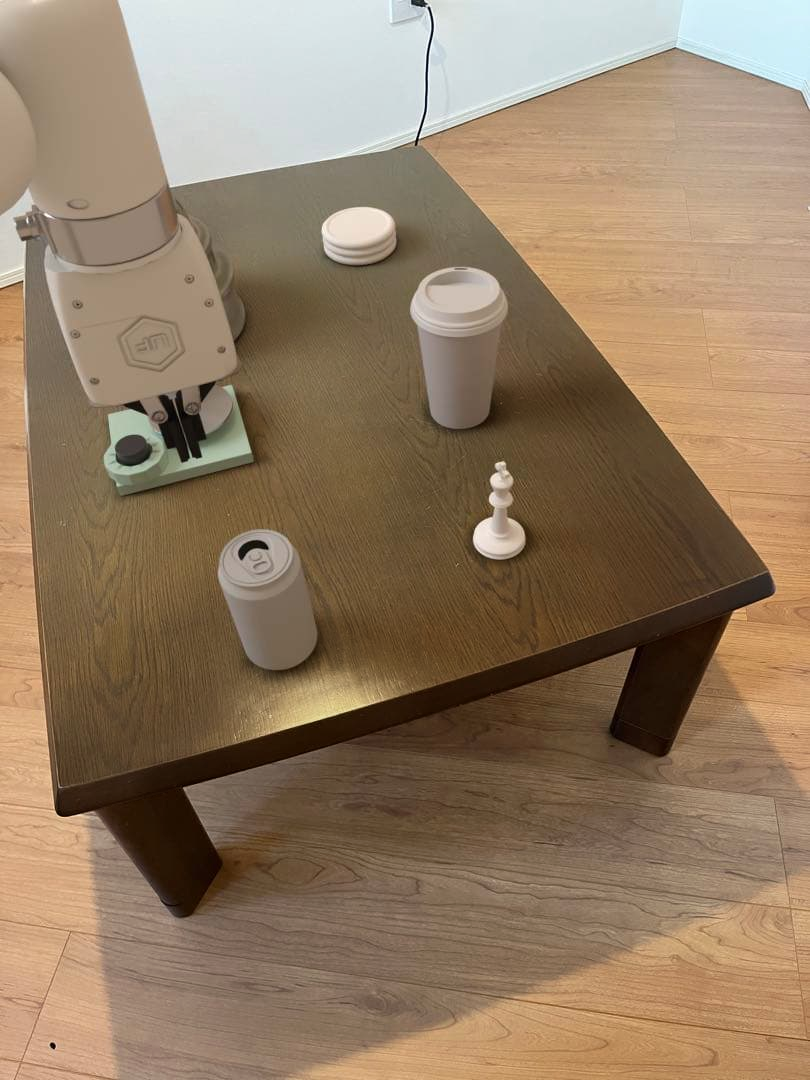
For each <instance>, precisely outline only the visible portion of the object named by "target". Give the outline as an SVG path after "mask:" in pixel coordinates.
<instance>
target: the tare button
mask: <svg viewBox="0 0 810 1080" xmlns="http://www.w3.org/2000/svg"><path fill="white" fill-rule="evenodd" d="M115 451H116V454H117V456H118V458H119V460H120V462H121V463H122V464H123V465H125V466H135V465H139V464H142V463H143V462H145V461H146V460H147V459H148V458H149V456H150V449H149V446H148V444H147V441H146V439H145V438H144V437H143V436H141V435H136V434H133V435H128V436H125V437H123V438H121V439H120V440H119V441H118V442H117V443H116V445H115Z"/></svg>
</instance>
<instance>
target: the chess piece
mask: <svg viewBox="0 0 810 1080" xmlns="http://www.w3.org/2000/svg"><path fill="white" fill-rule="evenodd" d="M494 469H496V470H497V472H495V473H493V474H492V475H491V477H490V479H489V483H490V486H491V488H492V490H493V491H492V492H491V493H490V494H489V496H488V502H489V504H490V505H491V506H492V507H494V509H493V514H492V516H491V517H487V518H485V519H483V520H482V521H480V522H479V523H478V524H477V525H476V527H475V528H474V532H473V536H472V543H473V546H474V548H475V549H476V551H478V553H480V554H481V555H482V556H484V557H486V558H489V559H491V560H502V561H503V560H508V559H512V558H514V557H516V556H518V555H519V554H520V553H521V552H522V551H523V549H524V547H525V546H526V534H525V533H526V532H525V530H524V527H522V525H521V524H520V523H519V522H518V521H516V520H515V519H513V518H510V517H508V511H507V508H508V507H510V506H511V505H512V504H513V502H514V497H513V495H512V493H511V492H510V490H511V488H512V487H513V484H514V477H513V476H512V475H511V473H510V472H509V471H508V470H507V463H506V462H505V461H504V460H502V461H498V462H496V463H494Z"/></svg>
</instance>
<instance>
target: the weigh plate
mask: <svg viewBox="0 0 810 1080" xmlns="http://www.w3.org/2000/svg"><path fill="white" fill-rule="evenodd" d="M222 387H223V386H220V385H218V384H215V385H214V386H213V388H212V389H211V391H210V392H209V393H208V395H207V396H206V397H205V399H204V400H203V402H202V403H201V411H200V412H199V414H200V417H201V420H202V424H203V427H204V430H205V434H208V433H210V432H212V431H214V430H216V429H217V428H219V427H220V426H221V425H223V424H224V423H225V422H226V420H227V419H228V418H229V416H230V414H231V412H232V408H233V403H232V399H231V396H230V394H229V393H228V392H227V391H226V390H225V389H223V388H222ZM176 393H177V391H175V392H171V393H167V394H164V395H166V396H168V397H169V399H172V400H173V403H174V406H175V409H176V412H177V415H178V411H177V407H176V403H175V399H174V398H176ZM178 418H179V415H178ZM148 421H149V424H150V426H151V428H152V429H153V430H154V431H155V432H156V433H158V434H159V435H161V436H162V434H161V431H160V428H159V426H158V424H157V423H154V422H153V421H152V420H151V419H150V417H149V416H148ZM179 421H180V419H179ZM180 424H181V422H180ZM181 427H182V425H181ZM182 430H183V428H182ZM183 432H184V431H183ZM184 436H185V434H184ZM185 439H186V437H185Z"/></svg>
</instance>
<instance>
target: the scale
mask: <svg viewBox="0 0 810 1080" xmlns="http://www.w3.org/2000/svg"><path fill="white" fill-rule="evenodd" d="M221 387H222V388H223V389H225V390H226V391H227V392H228V393H229V394H230V396H231V399H232V403H233V408H232V412H231V414H230V416H229V418H228V419H227V420H226V422H225V423H224V424H223V425H221V426H220V427H219V428H217V429H216V430H214V431H212V432H210V433H208V434H206V437H207V439H206V440H202V441H198V443H199V446H200V450H201V454H202V458H198V459H196V458H192V455H191V452H190V449H189V446H188V443H187V440H186V443H187V447H188V451H189V455H190V459H188V461H187V462H183V463H181V460H180V457H179V454H178V451H177V449H176V447H175V448H172V449H168V450H167V447H166V445H165V442H164V439H163V437H162V436H161V435H159V434H158V433H156V432H155V431H154V430H153V429H152V428H151V426H150V424H149V421H148V416H147V415H144V414H142V413H139V412H137V411H134V410H132V409H129V408H127V409H125V410H120V411H117V412H112V413H108V414H107V420H108V426H109V434H110V435H109V436H110V443H111V444H110V445H109V447H108V449H106V451H105V453H104V455H103V463H104V468H105V470H106V473H107V475H108V476H109V478H111V480H113V481H114V482H115V485H116V486H115V487H116V489H117V491H118V493H119V495H120V496H121V497H122V496H123V497H124V496H126V495H130V494H134V493H138V492H142V491H146V490H149V489H154V488H157V487H162V486H166V485H170V484H173V483H177V482H181V481H186V480H189V479H193V478H197V477H200V476H205V475H209V474H213V473H215V472H220V471H224V470H228V469H232V468H236V467H239V466H244V465H248V464H253V463H254V462H255V458H254V455H253V452H252V448H251V445H250V441H249V439H248V435H247V430H246V428H245V424H244V421H243V417H242V413H241V410H240V407H239V406H240V405H239V404H238V400H237V397H236V396H237V395H236V393H235V389H234V385H233V384H229V385H225V386H221ZM133 434H136V435H141V436H143V437H144V438H145V439H146V441H147V444H148V446H149V449H150V456H149V458H148V459H147V460H146V461H145V462H143V463H142V464H139V465H135V466H125V465H123V464H122V463H121V462H120V460H119V458H118V456H117V454H116V451H115V445H116V443H117V442H118V441H119V440H120V439H121V438H123V437H125V436H128V435H133Z"/></svg>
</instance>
